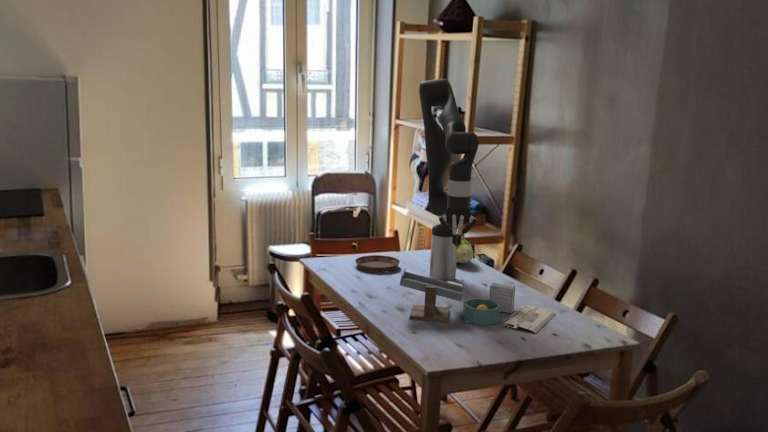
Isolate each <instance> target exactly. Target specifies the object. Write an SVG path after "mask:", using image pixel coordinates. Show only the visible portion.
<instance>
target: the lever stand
mask: <svg viewBox="0 0 768 432" xmlns="http://www.w3.org/2000/svg"><path fill="white" fill-rule="evenodd" d="M427 277H428V278H432V279H436V280H437V277H430V276H427ZM436 304H437V295H435V287H434V286H426V287H425V292H424V305H420V304H412V307H411V310H410V314H409V320H414V321H415V320H417V321H418V320H419V321H427V322H429V321H430V322H443V323H448V322H447V321H448V319H449V312H450V307H448V306H446V307H445V306H437V305H436Z"/></svg>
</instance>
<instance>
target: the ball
mask: <svg viewBox="0 0 768 432" xmlns="http://www.w3.org/2000/svg"><path fill="white" fill-rule="evenodd" d="M477 309H484V310H487V309H488V307H487V306H486V305H479V306H478V307H477Z"/></svg>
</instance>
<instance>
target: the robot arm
mask: <svg viewBox="0 0 768 432" xmlns="http://www.w3.org/2000/svg"><path fill="white" fill-rule="evenodd" d="M418 95H419V102H420V107H421V113H422V120H423V121H422V122H423V128H424V131H423V132H424V142H425V145H424V146H425V155H426V164H427V175H428V177H427V178H428V180H427V181H428V197H427V198H428V199H427V200H428V208H429V211H430V213H431V214H432V215H435V216H438V221H439V222H440V223H438V224H435V225H433V226H432V229H431V242H430V243H431V244H430V246H431V247H430V262H429V277H437V280H440V281H444V282H448V281H451V282H453V280H454V279H456V276H457V275H456V273H457V263H456V262H457V254H455V248H456V243H457V246H459V244H461V236H462V235H466V234H467V233H468V232H469V231H470V230H471V229H472V228H473V227H474V226H475V224H476V223H477V222H478V219H477V218H476V217H474V216H473V215H472V211H471V200H472V199H471V198H472V171H473V170H472V169H473V164H474V160H475V158H476V155H477V152H478V149H479V145H480V144H479V143H480V139H479V137H478V135H477V134H476V133H475V132H473V131H466V130H467V127H466V125H465V122H464V120H463V118H462V117H461V115H460V112H459V109H458V106H457V105H458V104H457V102H456V101H457V100H456V97H455V95H454V91H453V87H452V85H451V83H450V81H449V80H448V79H447V78H437V79H436V78H435V79H429V80H422V81H421V82H420V83H419V87H418ZM436 106H437V107H439V106H444V108H442V111H441V114H440V116H439V120H440V121H439V122H440V124H439V123H438V122H437V120H436V117H435V116H434V114H433V112H432V107H436ZM453 155H463V156H462V158H461V159H459V160H458V159H457V160H454V161H452V157H453ZM448 168H449V173H448V174H449V175H448V177H449V179H448V185H447V192H446V191H444V184H443V183H444V176H445V174H446V172H447V170H448ZM468 221H469V222H468ZM467 222H468V224H467V225H465V224H466V223H467ZM464 225H465V227H464V228H463V226H464Z"/></svg>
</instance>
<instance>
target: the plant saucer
mask: <svg viewBox="0 0 768 432" xmlns="http://www.w3.org/2000/svg"><path fill="white" fill-rule="evenodd" d="M354 262H355V264H356V265H357V267H358V268H359V269H360V270H362V271H365V272H369V273H389V272H392V271H394V270H395V269H397V267H398V266H399V264H400V259H398V258H396V257H393V256H389V255H378V254H377V255H376V254H375V255H374V254H373V255H363V256H360V257H357V258H356V259H355V261H354Z"/></svg>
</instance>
